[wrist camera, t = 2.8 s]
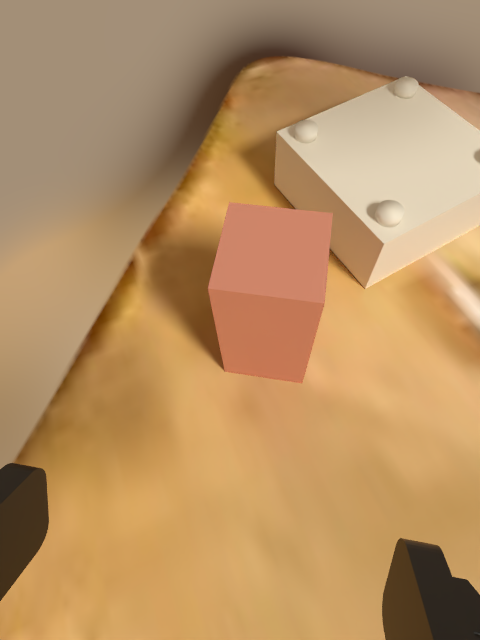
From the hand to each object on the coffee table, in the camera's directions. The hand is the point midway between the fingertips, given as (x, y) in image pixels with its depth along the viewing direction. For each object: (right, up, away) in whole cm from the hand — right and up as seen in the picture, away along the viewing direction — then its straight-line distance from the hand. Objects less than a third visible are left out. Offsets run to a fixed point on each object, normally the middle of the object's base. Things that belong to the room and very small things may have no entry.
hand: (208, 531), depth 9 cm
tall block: (+3, +3, +18) cm, 19 cm away
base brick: (+12, +14, +24) cm, 30 cm away
